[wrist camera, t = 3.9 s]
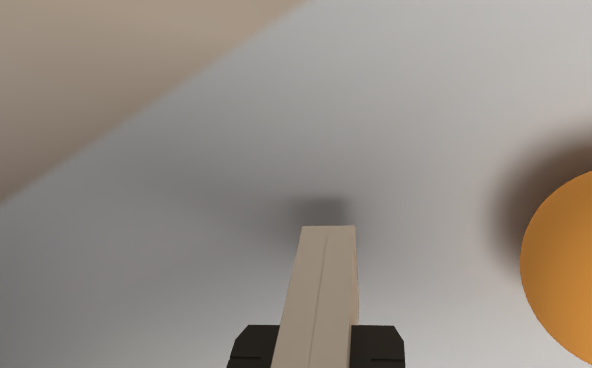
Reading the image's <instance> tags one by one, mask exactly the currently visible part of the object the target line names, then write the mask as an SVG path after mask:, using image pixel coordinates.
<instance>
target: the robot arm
mask: <svg viewBox="0 0 592 368" xmlns="http://www.w3.org/2000/svg"><path fill="white" fill-rule="evenodd" d="M358 315H359V292H358V273H357V254H356V234H355V225H348V226H302V231H301V235H300V240H299V244H298V249H297V253H296V257H295V262H294V266H293V271H292V275H291V280H290V284H289V288H288V293H287V297H286V302H285V306H284V311H283V315H282V319H281V324H280V325H248V326H247V327H246V328H245V329H244V330H243V332H242V333H241V334H240V335H239V336H238V337H237V338H236V340H235V343H234V346H233V349H232V352H231V355H230V360H229V361H228V364H227V368H405V354H404V341H403V340H402V338H401V336H400V335H399V333H398V332H397V330H396V329H395V327H394V326H377V325H358Z"/></svg>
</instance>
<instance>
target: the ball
mask: <svg viewBox="0 0 592 368" xmlns="http://www.w3.org/2000/svg"><path fill="white" fill-rule="evenodd" d="M520 273H521V280H522V285H523V288H524V291H525V294H526V297H527V300H528V303H529V304H530V306H531V308H532V310H533V312H534V314H535V316H536V317H537V319H538V320H539V322H540V323H541V324H542V326H543V327H544V328H545V329H546V331H547V332H548V333H549V334H550V335H551V336H552V337H553V338H554V339H555V340H556V341H557V342H558V343H559V344H560V345H562V346H563V347H564V348H565V349H566V350H568V351H569V352H571V353H572V354H573V355H575V356H577V357H578V358H580V359H581V360H583V361H585V362H587V363H589V364H591V365H592V171H589V172H587V173H585V174H582V175H580V176H578V177H576V178H574V179H572V180H570V181H568V182H567V183H565V184H564V185H562V186H561V187H559V188H558V189H557V190H555V191H554V192H553V193H552V194H551V195H550V196H548V197H547V198H546V200H545V201H544V202H543V203H542V204H541V205H540V206H539V208H538V209H537V211H536V212H535V213H534V215H533V217H532V219H531V221H530V223H529V225H528V227H527V229H526V231H525V234H524V237H523V241H522V247H521V252H520Z"/></svg>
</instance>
